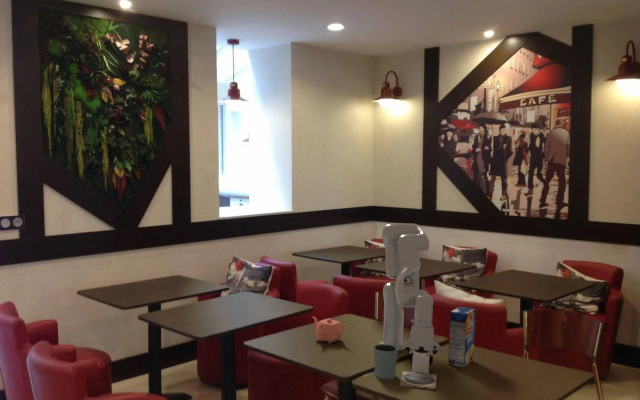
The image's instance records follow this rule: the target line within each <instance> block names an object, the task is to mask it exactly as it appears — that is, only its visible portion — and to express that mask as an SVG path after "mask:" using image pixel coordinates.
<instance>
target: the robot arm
mask: <svg viewBox="0 0 640 400" xmlns="http://www.w3.org/2000/svg"><path fill="white" fill-rule="evenodd" d="M381 238H382V243H383V246H384V249H385V274H386V277H387V278H389V279H392V280H395V281H390V282H386V284H384V285H383V288H382V294H383V295H382V297H383V303H384V305H383V306H384V307H383V327H382V328H383V329H382V331H383V332H382V333H383V334H382V341H380V342H379V344H389V345H393V346H396V347H397V348H398V351H404V350H406V351H407V352H408V353H409V361H410V364H412V361H413V352H414V351H415V350H419V347H424V350H425V351H429V353H430V362H429V366H432V364H433V363H434V356H435V355H436V354H437V353H438V352H439V351H440V350H441V349H442V346H441V345H440V344H439V343H438V342H437V341H436V340H435V332H434V331H435V329H434V326H433V311H434V310H433V306H434V298H433V296H432V295H431V294H429V292H428V291H426V290H425V289H420V269H421V260H420V256H419V253H426V252H428V251H429V249H430V240H429V237H428V235H427V234H426V232H425V231H424V230H423V229H422V228H421V227H420V225H418V224H417V223H400V222H399V223H398V222H397V223H395V222H394V223H388V224H385V225H384V226H383V228H382V232H381ZM405 280H407V281H405ZM404 308H414V317H413V318H411V319H410V322H411V323H413V324H412V326H411V329H410V336H409V337H410V338H408V339H406V340H405V341H404V340H403V339H404V321H405V320H404V319H405V317H404V316H405V310H404ZM408 344H409V345H408ZM434 347H436V348H435V349H434Z"/></svg>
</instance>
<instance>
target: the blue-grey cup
mask: <svg viewBox="0 0 640 400" xmlns="http://www.w3.org/2000/svg"><path fill="white" fill-rule="evenodd" d="M398 352H399V350H398V348H397V347H396V346H393V345H389V344H380V343H379V344H376V345H374V346H373V358H374V363H373V364H374V376H375V377H376V378H377V379H380V380H393V379H395V377H396V373H397V371H396V370H397V361H398Z"/></svg>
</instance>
